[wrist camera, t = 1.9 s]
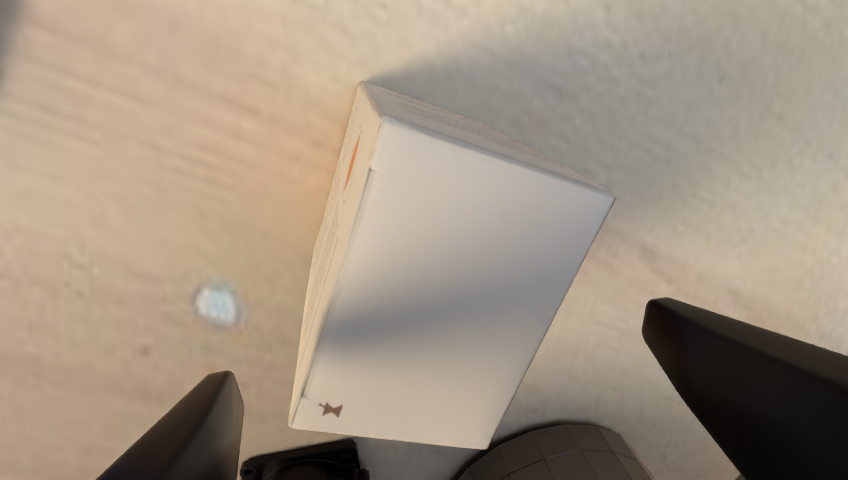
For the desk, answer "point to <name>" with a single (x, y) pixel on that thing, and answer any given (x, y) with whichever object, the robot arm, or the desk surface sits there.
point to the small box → (434, 274)
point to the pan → (561, 457)
